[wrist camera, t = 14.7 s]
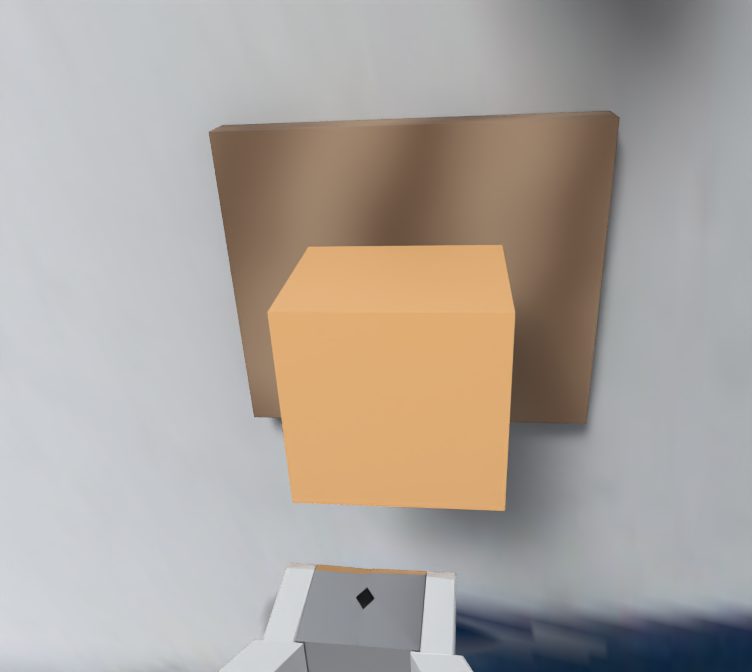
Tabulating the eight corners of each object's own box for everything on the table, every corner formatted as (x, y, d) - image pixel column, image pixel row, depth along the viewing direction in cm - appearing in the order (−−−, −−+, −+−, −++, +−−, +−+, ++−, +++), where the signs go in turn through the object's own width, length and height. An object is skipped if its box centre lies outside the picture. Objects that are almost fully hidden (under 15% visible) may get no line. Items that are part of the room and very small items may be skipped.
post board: (609, 111, 23) (701, 171, 14) (579, 403, 28) (632, 574, 20) (222, 125, 24) (97, 186, 16) (263, 398, 30) (186, 553, 21)
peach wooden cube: (502, 244, 20) (515, 313, 15) (495, 411, 22) (504, 510, 18) (308, 246, 20) (267, 312, 16) (324, 408, 23) (292, 502, 19)
